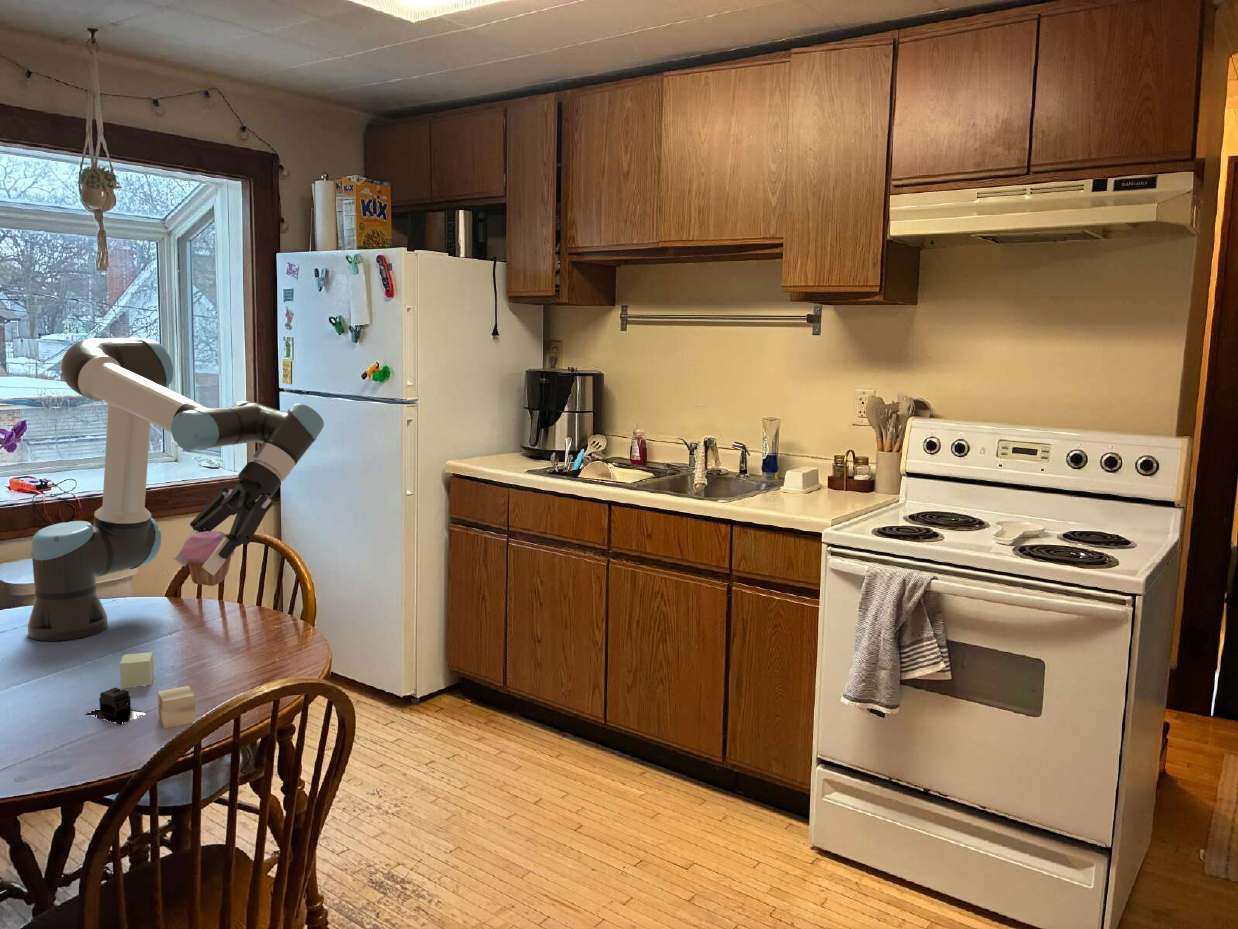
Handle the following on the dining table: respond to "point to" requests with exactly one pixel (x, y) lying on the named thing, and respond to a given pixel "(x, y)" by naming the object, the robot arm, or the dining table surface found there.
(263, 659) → the dining table surface
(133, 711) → the black piece
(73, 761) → the dining table surface
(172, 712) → the birch block
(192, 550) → the cupcake
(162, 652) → the dining table surface
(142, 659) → the sage block
